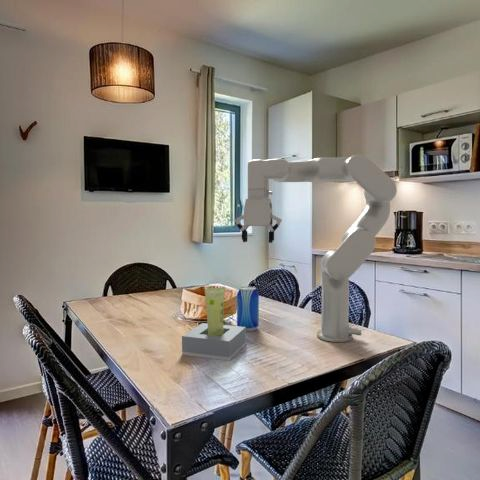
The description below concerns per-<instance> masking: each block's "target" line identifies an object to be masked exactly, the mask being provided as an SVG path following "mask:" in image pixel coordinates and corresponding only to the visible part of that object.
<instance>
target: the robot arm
mask: <svg viewBox="0 0 480 480" xmlns="http://www.w3.org/2000/svg"><path fill="white" fill-rule="evenodd" d="M269 180H272V181H274V182H278V183H328V182H329V183H331V182H332V183H334V182H335V183H346V182H347V183H351V182H352V183H354V182H356V183H357V184H358V185H359V186H360V187H361V188H362V190H363V195H364V199H365V203H366V204H365V208H364V210H363V212H362V213H361V214H360V216H359V217H358V218H357V219H356V221H355V222H354V223H352V225H351V226H350V227H349V228H348V229H347V231H345V232H344V234H343V236H342V239H341V240H342V241H341V242H342V243H341V244H340V245H339V246H338V247H337V249H331V250H329V251H327V252H326V253H324V255H323V256H322V259H321V264H320V266H321V267H320V271H321V318H320V319H321V321H320V323H321V324H320V325H321V326H320V327H321V329H319V330H318V331H317V332H316V336H317V338H319V339H320V340H322V341H326V342H331V343H333V342H334V343H344V342H345V343H346V342H349V341H352V339H353V336H354V335H356V336H362V329H359V328H356V327H354V328H353V327H350V326H351V325H350V323H349V311H350V310H349V308H350V307H349V305H350V304H349V303H350V302H349V301H350V280H349V278H350V277H352V276H353V275H354V274H355V273H356V271H357V270H359V269H360V267H361V266H362V265H363V264H364V263H365V262H366V260H368V258H369V257H370V256H371V254H372V253H373V251H374V249H375V248H376V244H377V240H376V236H377V235H378V234H379V232H380V231H381V230H382V228H383V227H384V226H385V225H386V224H387V221H388V220H389V217H390V212H391V201H393V199H395V197H396V195H397V191H398V189H397V188H398V187H397V184H396V183H395V182H394V180H393V179H392V178H391V177H390V176H389V175H388V174H387V173H385V172H384V170H382V169H381V168H380V167H379V166H378V165H377V164H376V163H374V161H372V160H371V159H370V158H369V157H367V156H366V155H364V154H354V155H351V156H350V157H345V156H344V157H316V158H313V159H312V158H311V159H309V160H305V161H304V160H303V161H288V160H287V159H284V158H282V157H281V158H280V157H279V158H277V157H276V158H272V159H251V160H249V161H248V162H247V198H245V202H244V206H243V207H244V208H243V214H242V215H240V216H239V217H236V218H235V219H234V222H235V223H236V226H237V228H238V229H239V230H240V231H241V241H242V243H247V242H248V231H247V229H248V228H250V227H267V228H268V230H269V231H268V243H269V244H272V243H274V240H275V231H276V230H277V229H278V228H279V227H280V225H281V223H282V218H280V217H278V216H276V215H274V214H273V204H272V199H271V198H269V197H270V196H273V191H272V190H269ZM242 220H243V222H242V223H243V225H242V223H241V221H242ZM274 221H276V223H275V224H274V225H273V223H274Z"/></svg>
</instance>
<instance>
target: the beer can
mask: <svg viewBox="0 0 480 480" xmlns="http://www.w3.org/2000/svg"><path fill="white" fill-rule="evenodd" d="M259 296H260V295H259V292H258V290H257V287H256V286H240V287H239V290H238V291H237V294H236V326H240V327H246V332H254V331H256V330H257V328H258V327H259V326H260V325H259V321H260V320H259V310H260V309H259V308H260V307H259V303H260V301H259V300H260V299H259V298H260V297H259Z"/></svg>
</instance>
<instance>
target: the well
mask: <svg viewBox="0 0 480 480" xmlns="http://www.w3.org/2000/svg"><path fill="white" fill-rule="evenodd" d="M246 332H247V331H246V327H240V326H237V325H228V324H223V335H222V336H213V335H208V324H207V322H202V323H200V324H199V325H198V326H197V325H196V326H195V327H194V328H192V329H191V330H189V331H188V332H186V333H184V334H183V335H182V336H181V355H182V356H188V357H190V356H191V357H197V358H203V359H204V358H206V359H214V360H220V361H221V360H222V361H229V362H230V361H231V360H232V359H233V357H235V355H237V353H239V352H240V351H241V350H242V349H243V348H244V347H245V345H246V343H247V342H246V339H247V337H246V335H247V333H246Z"/></svg>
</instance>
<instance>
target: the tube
mask: <svg viewBox="0 0 480 480" xmlns="http://www.w3.org/2000/svg"><path fill="white" fill-rule="evenodd" d="M225 293H226V286H220V287H213V288H206V289H204V295H205V306H206V318H207V319H206V320H207V322H206V323H207V324H208V335H213V336H222V335H223V325H224V319H225V318H224V317H225V316H224V315H225V314H224V313H225Z"/></svg>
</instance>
